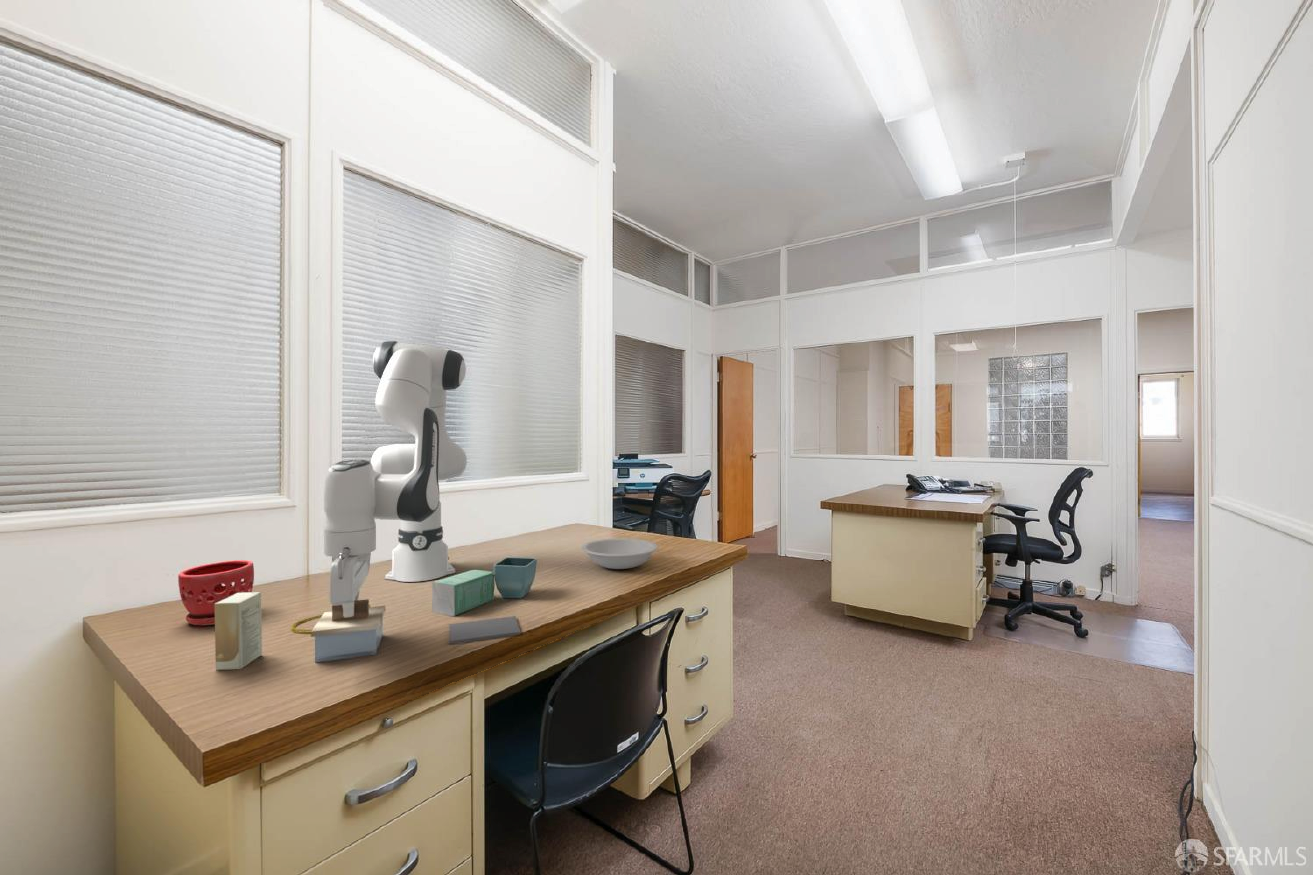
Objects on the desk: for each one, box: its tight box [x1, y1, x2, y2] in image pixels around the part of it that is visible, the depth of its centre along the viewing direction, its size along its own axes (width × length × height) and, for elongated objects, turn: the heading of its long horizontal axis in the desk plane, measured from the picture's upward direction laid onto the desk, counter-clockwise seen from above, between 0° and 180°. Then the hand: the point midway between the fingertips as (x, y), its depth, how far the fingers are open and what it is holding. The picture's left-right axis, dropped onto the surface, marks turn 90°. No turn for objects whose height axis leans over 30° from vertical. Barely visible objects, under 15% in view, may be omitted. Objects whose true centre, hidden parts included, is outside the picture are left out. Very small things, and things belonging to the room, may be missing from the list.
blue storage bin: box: [314, 617, 384, 663], centre depth 103 cm, size 10×10×5 cm
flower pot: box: [493, 556, 538, 599], centre depth 135 cm, size 9×9×9 cm
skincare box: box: [214, 591, 263, 671], centre depth 96 cm, size 6×4×12 cm
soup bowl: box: [581, 537, 659, 570], centre depth 165 cm, size 24×24×7 cm
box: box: [431, 569, 496, 617], centre depth 128 cm, size 7×14×8 cm, turn 156°
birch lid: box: [310, 598, 386, 638], centre depth 102 cm, size 11×11×4 cm
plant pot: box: [177, 559, 255, 626], centre depth 118 cm, size 13×13×12 cm
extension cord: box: [290, 604, 371, 635], centre depth 117 cm, size 12×16×2 cm
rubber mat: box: [448, 615, 522, 645], centre depth 112 cm, size 10×14×1 cm
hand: (350, 613), depth 103 cm, fingers closed on birch lid, 2 cm apart
